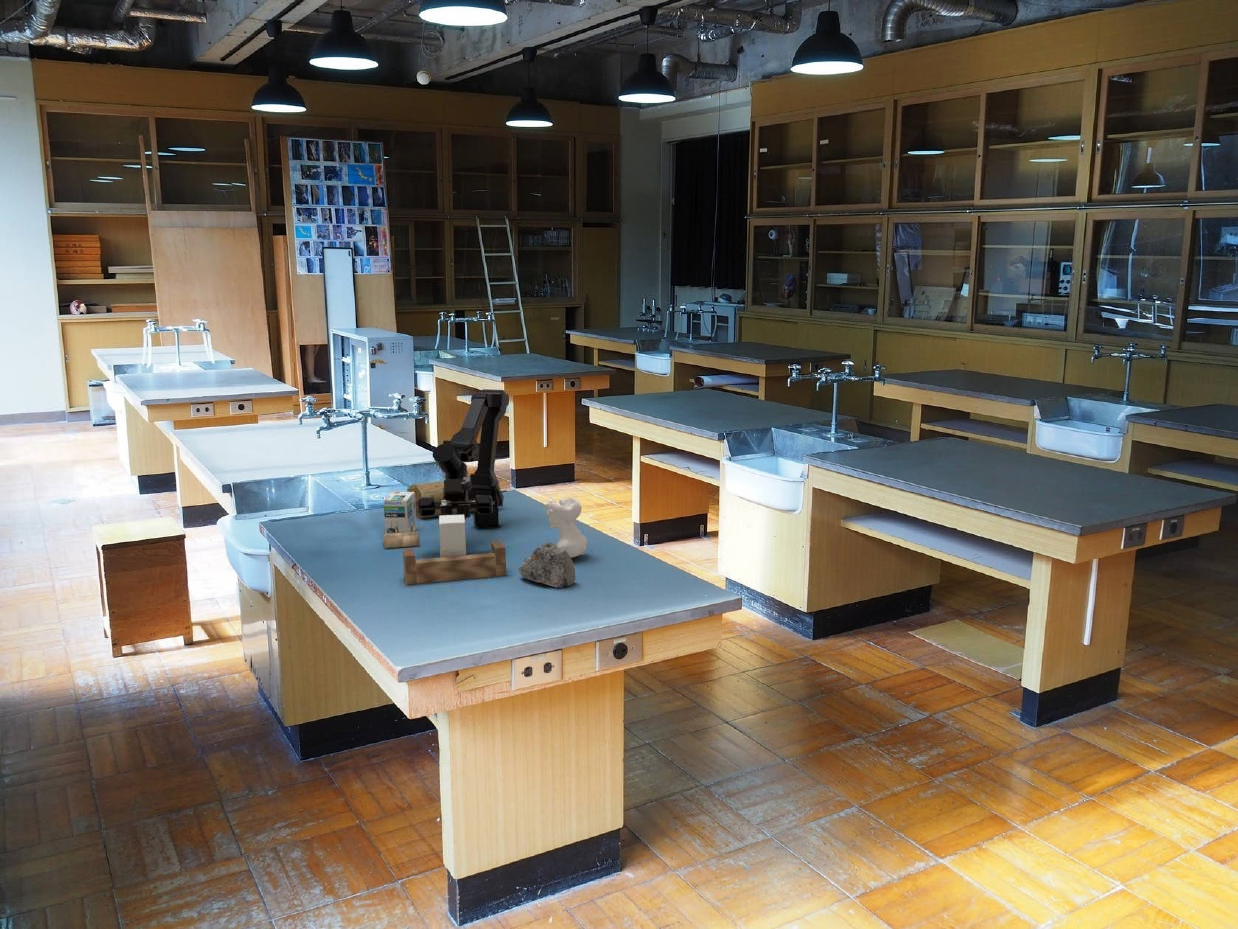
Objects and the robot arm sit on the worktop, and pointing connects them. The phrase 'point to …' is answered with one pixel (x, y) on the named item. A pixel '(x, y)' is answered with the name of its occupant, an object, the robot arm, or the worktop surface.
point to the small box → (452, 535)
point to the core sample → (431, 495)
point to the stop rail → (454, 566)
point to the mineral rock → (549, 566)
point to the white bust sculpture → (567, 525)
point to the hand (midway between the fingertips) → (455, 534)
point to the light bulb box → (400, 513)
